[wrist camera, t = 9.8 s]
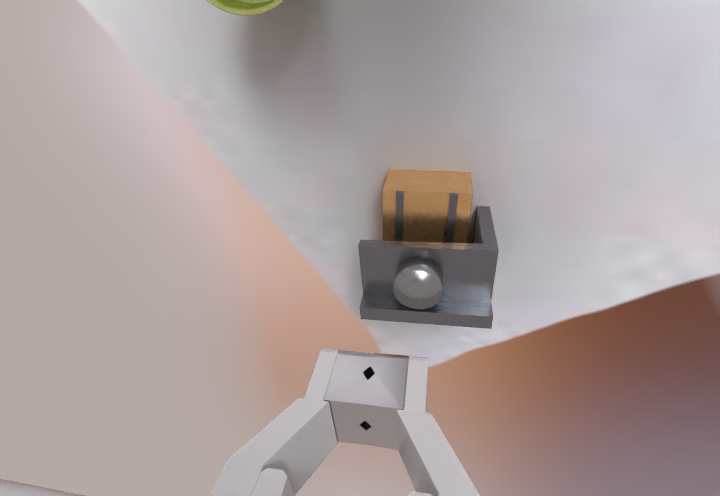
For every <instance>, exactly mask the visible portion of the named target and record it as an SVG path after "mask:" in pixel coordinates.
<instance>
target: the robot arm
mask: <svg viewBox="0 0 720 496" xmlns="http://www.w3.org/2000/svg"><path fill="white" fill-rule="evenodd" d="M427 382H428V358H423V357H412V356H404V355H391V354H378V353H374V354H370V353H362V352H354V351H345V350H336V349H326V348H323V349H322V350H321V351H320V353H319V355H318V358H317V361H316V364H315V367H314V370H313V372H312V375H311V378H310V381H309V384H308V387H307V390H306V392H305V395H304V398H297V400H295V401H294V402H293V403H292V404H291V405H289V406H288V407H287V408H286V409H285V410H284V411H282V413H280V414H279V415H278V416H277V417H276V418H274V419H273V420H272V421H271V422H270V423H269V424H267V426H265V427H264V428H263V429H262V430H261V431H259V432H258V433H257V434H256V435H255V436H254V437H253V438H251V439H250V440H249V441H248V442H247V443H246V444H244V445H243V446H242V447H241V448H240V449H239V450H238V451H236V452H235V453H234V454H233V455H232V456H231V457H229V458H228V459H227V461H226V464H225V466H224V468H223V470H222V472H221V474H220V476H219V478H218V481H217V483H216V485H215V487H214V489H213V491H212V493H211V495H210V496H295V494H296V493H297V492H298V491H299V490H300V488H301V487H302V486H303V485H304V484H305V482H306V481H307V480H308V479H309V477H310V476H311V475H312V474H313V473H314V471H315V470H316V469H317V468H318V467H319V465H320V464H321V463H322V462H323V461H324V459H325V458H326V457H327V455H329V453H330V452H331V451H332V450H333V448H334V447H335V446H336V445H337V441H339V442H348V443H357V444H366V445H372V446H378V447H384V448H390V449H396V450H399V452H400V455H401V457H402V460H403V462H404V464H405V467H406V469H407V471H408V474H409V476H410V479H411V481H412V483H413V486H414V488H415V491H416V492H414V491H412V492H411V493H410V494H408V495H407V496H480V495H479V494H478V492H477V490H476V488H475V487H474V485H473V483H472V482H471V480H470V478H469V477H468V475H467V473H466V472H465V470H464V468H463V466H462V465H461V463H460V461H459V460H458V458H457V456H456V455H455V453H454V451H453V450H452V448H451V446H450V444H449V443H448V441H447V440H446V438H445V436H444V434H443V433H442V431H441V429H440V427H439V426H438V424H437V422H436V421H435V419H434V417H433V416H432V414H430V413H427V385H428V384H427ZM0 496H84V495H79V494H74V493H69V492H63V491H59V490H54V489H49V488H44V487H39V486H34V485H29V484H23V483H18V482H13V481H8V480H3V479H0Z"/></svg>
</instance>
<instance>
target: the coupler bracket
mask: <svg viewBox="0 0 720 496" xmlns="http://www.w3.org/2000/svg"><path fill="white" fill-rule="evenodd" d="M358 247H359V256H360V266H361V276H362V285H363V297H362V301H361V304H360V315H361V319H370V320H383V321H396V322H410V323H423V324H436V325H450V326H463V327H476V328H490V329H491V327H492V320H493V313H492V306H491V298H492V291H493V284H494V277H495V271H496V264H497V257H498V246H497V241H496V236H495V231H494V226H493V221H492V216H491V211H490V207H483V206H477V215H476V225H475V235H474V243H443V242H412V241H380V240H360V243H359V246H358Z"/></svg>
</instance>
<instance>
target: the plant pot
mask: <svg viewBox="0 0 720 496" xmlns="http://www.w3.org/2000/svg"><path fill="white" fill-rule="evenodd" d="M207 1H208V2H209V3H211V4H212V5H214V6H216V7H218V8H219V9H221V10H224V11H226V12H229V13H232V14H236V15H244V16H249V15H258V14H262V13H265V12H268V11H270V10H272V9H274V8H276V7H277V6H279V5H280V4H281V3H282V2H283V1H285V0H207Z"/></svg>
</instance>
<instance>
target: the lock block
mask: <svg viewBox="0 0 720 496" xmlns="http://www.w3.org/2000/svg"><path fill="white" fill-rule="evenodd" d="M472 197H473V190H472V183H471V175H470V172H449V171H416V170H389V171H388V175H387V178H386V181H385V184H384V187H383V241H412V242H443V243H466V241H467V233H468V226H469V219H470V211H471V204H472Z"/></svg>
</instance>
